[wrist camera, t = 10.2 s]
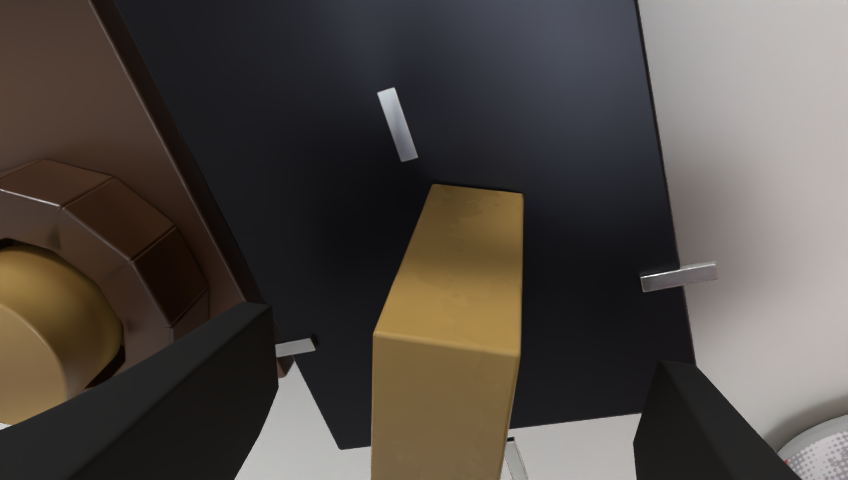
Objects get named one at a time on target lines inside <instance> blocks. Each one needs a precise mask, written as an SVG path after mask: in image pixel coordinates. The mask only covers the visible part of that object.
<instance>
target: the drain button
mask: <svg viewBox="0 0 848 480" xmlns="http://www.w3.org/2000/svg"><path fill="white" fill-rule="evenodd" d="M121 340H122V326H121V321H120V319H119V317H118V316H117V314H116V313H115V311H114V310H113V308H112V306H111V305H110V303H109V302H108V300H107V298H106V297H105V295H104V294H103V292H102V290H101V289H100V287H99V286H98V284H97V283H96V282H94V281H93V280H92V279H90V278H89V277H88V276H86V275H85V274H84V273H82V272H81V271H80V270H78V269H77V268H76V267H74V266H73V265H72V264H70V263H69V262H68V261H66V260H65V259H64V258H62V257H61V256H60V255H58V254H57V253H55V252H54V251H52V250H49V249H46V248H42V247H37V246H30V245H14V246H9V247H5V248H2V249H0V423H4V424H9V425H15V424H17V423H19V422H22V421H24V420H26V419H29V418H31V417H33V416H35V415H37V414H40V413H42V412H44V411H46V410H48V409H50V408H53V407H55V406H57V405H59V404H61V403H64V402H66V401H68V400H70V399H72V398H74V397H76V396H77V395H78V394H79V393H80V392H81V391H82V390H83V389H84V388H85V387H86V386H87V385H88V384H89V383H90V382H91V381H92V380H93V379H94V378H95V377H96V376H97V375H98V374H99V373H100V372H101V371H102V370H103V369H104V368H105V367H106V366H107V365H108V364H109V363H110V362H111V361H112V360H113V359H114V358H115V356H116V355H117V353H118V351H119V348H120V345H121Z"/></svg>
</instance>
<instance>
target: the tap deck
mask: <svg viewBox="0 0 848 480" xmlns="http://www.w3.org/2000/svg"><path fill="white" fill-rule="evenodd" d="M114 2H115V4H116V6H117V8H118V10H119V12H120V14H121V16H122V18H123V20H124V22H125V24H126V26H127V28H128V30H129V32H130V34H131V36H132V38H133V40H134V42H135V44H136V46H137V48H138V50H139V52H140V54H141V56H142V58H143V60H144V62H145V64H146V66H147V68H148V70H149V72H150V74H151V76H152V78H153V80H154V82H155V84H156V85H157V87H158V89H159V91H160V93H161V95H162V97H163V99H164V101H165V103H166V105H167V107H168V109H169V111H170V113H171V115H172V117H173V119H174V121H175V123H176V125H177V127H178V129H179V131H180V133H181V135H182V137H183V139H184V141H185V143H186V145H187V147H188V149H189V151H190V153H191V155H192V157H193V159H194V161H195V163H196V165H197V167H198V169H199V171H200V173H201V175H202V177H203V179H204V181H205V183H206V185H207V187H208V189H209V191H210V193H211V195H212V197H213V199H214V201H215V203H216V205H217V207H218V209H219V211H220V213H221V215H222V217H223V219H224V221H225V223H226V225H227V227H228V229H229V231H230V233H231V235H232V237H233V239H234V241H235V243H236V245H237V247H238V249H239V251H240V253H241V255H242V257H243V259H244V261H245V263H246V265H247V267H248V269H249V271H250V273H251V275H252V277H253V279H254V281H255V283H256V285H257V287H258V288H259V290H260V292H261V294H262V296H263V298H264V300H265V302H266V304H267V305H272V311H273V318H274V320H275V322H276V324H277V326H278V328H279V330H280V332H281V334H282V336H283V338H284V340H282V341H276V342H275V348H276V357H282V356H287V355H292V356H293V358H294V360H295V362H296V364H297V366H298V368H299V370H300V372H301V374H302V376H303V378H304V380H305V382H306V384H307V386H308V388H309V390H310V392H311V394H312V396H313V398H314V400H315V402H316V404H317V406H318V408H319V410H320V412H321V414H322V416H323V418H324V420H325V422H326V424H327V426H328V428H329V430H330V432H331V434H332V436H333V438H334V440H335V442H336V444H337V446H338V448H339V449H340V450H344V449H352V448H361V447H369V446H371V429H372V367H373V333H374V330H375V328H376V325H377V323H378V320H379V318H380V315H381V313H382V310H383V308H384V305H385V302H386V300H387V297H388V295H389V292H390V290H391V287H392V285H393V282H394V280H395V277H396V275H397V272H398V270H399V267H400V265H401V262H402V260H403V257H404V255H405V252H406V250H407V247H408V245H409V242H410V239H411V237H412V234H413V232H414V229H415V227H416V224H417V222H418V219H419V217H420V214H421V212H422V209H423V207H424V204H425V202H426V199H427V197H428V194H429V192H430V189H431V187H432V185H433V184H440V185H449V186H458V187H467V188H476V189H485V190H494V191H503V192H512V193H521V194H523V196H524V212H523V269H522V326H521V358H520V364H519V370H518V376H517V382H516V388H515V394H514V400H513V406H512V412H511V418H510V424H509V429H516V428H524V427H532V426H540V425H549V424H557V423H565V422H573V421H581V420H590V419H598V418H606V417H614V416H622V415H630V414H639V413H642V412H643V409H644V406H645V402H646V399H647V396H648V392H649V389H650V386H651V383H652V379H653V376H654V373H655V370H656V366H657V363H658V360H659V359H660V360H667V361H675V362H682V363H689V364H695V365H696V359H695V353H694V347H693V340H692V334H691V328H690V322H689V315H688V309H687V303H686V297H685V291H684V285H687V284H693V283H699V282H704V281H710V280H716V279H718V274H717V267H716V263H715V261H714V260H711V261H706V262H701V263H695V264H690V265H685V266H680V259H679V253H678V247H677V241H676V234H675V228H674V222H673V216H672V210H671V203H670V197H669V191H668V185H667V178H666V172H665V166H664V160H663V153H662V147H661V141H660V135H659V129H658V122H657V116H656V110H655V104H654V97H653V91H652V85H651V79H650V72H649V66H648V60H647V54H646V48H645V41H644V35H643V29H642V23H641V16H640V10H639V4H638V0H114ZM696 366H697V365H696ZM505 458H506V461H507V464H508V467H509V470H510V473H511V475H512V478H513V480H528V475H527V472H526V470H525V467H524V464H523V461H522V458H521V455H520V452H519V449H518V446H517V443H516V440H515V437H509V438H507V443H506V449H505Z"/></svg>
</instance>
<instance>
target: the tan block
mask: <svg viewBox="0 0 848 480" xmlns="http://www.w3.org/2000/svg"><path fill="white" fill-rule="evenodd" d="M523 212H524V196H523V194H521V193H512V192H503V191H494V190H485V189H476V188H467V187H458V186H449V185H440V184H433V185H432V187H431V189H430V192H429V194H428V197H427V199H426V202H425V204H424V207H423V209H422V212H421V214H420V217H419V219H418V222H417V224H416V227H415V229H414V232H413V234H412V237H411V239H410V242H409V245H408V247H407V250H406V252H405V255H404V257H403V260H402V262H401V265H400V267H399V270H398V272H397V275H396V277H395V280H394V282H393V285H392V287H391V290H390V292H389V295H388V297H387V300H386V302H385V305H384V308H383V310H382V313H381V315H380V318H379V320H378V323H377V325H376V328H375V330H374V333H373V367H372V429H371V480H500V479H501V473H502V467H503V461H504V455H505V449H506V443H507V436H508V430H509V424H510V418H511V412H512V406H513V400H514V394H515V388H516V382H517V376H518V370H519V364H520V358H521V326H522V269H523Z"/></svg>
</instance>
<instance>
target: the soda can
mask: <svg viewBox="0 0 848 480" xmlns="http://www.w3.org/2000/svg"><path fill="white" fill-rule="evenodd" d="M777 454H778V456H779V457H780V458H781V459H782V460H783V461H784V462H785V463H786V464H787V465H788V466H789V467H790V468H791V469H792V470H793V471H794V472H795V473H796V474H797V475H798V476H799V477H800V478H801V479H802V480H848V415H844V416H841V417H837V418H834V419H831V420H828V421H826V422H823V423H821V424H819V425H816V426H814V427H812V428H810V429H808V430H806V431H804V432H803V433H801V434H799V435H798V436H796V437H795V438H793V439H792V440H791V441H789V442H788V443H787V444H786V445H785V446H784V447H783V448H782V449H781V450H780V451H779V452H778V453H777Z"/></svg>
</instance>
